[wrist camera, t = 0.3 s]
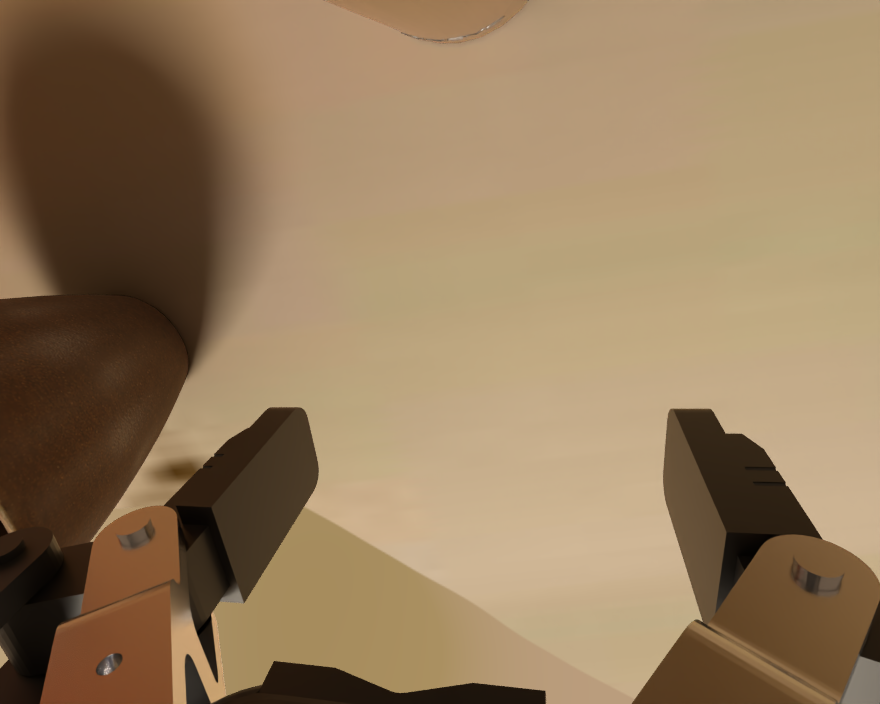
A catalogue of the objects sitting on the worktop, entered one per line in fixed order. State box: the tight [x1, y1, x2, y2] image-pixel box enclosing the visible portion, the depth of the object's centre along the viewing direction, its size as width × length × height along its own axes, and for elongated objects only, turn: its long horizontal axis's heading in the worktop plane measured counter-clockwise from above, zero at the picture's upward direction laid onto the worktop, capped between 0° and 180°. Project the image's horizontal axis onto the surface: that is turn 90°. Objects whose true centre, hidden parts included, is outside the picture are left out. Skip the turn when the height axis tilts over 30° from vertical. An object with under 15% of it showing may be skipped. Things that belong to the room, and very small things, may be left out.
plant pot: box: [0, 295, 188, 548], centre depth 28 cm, size 15×15×16 cm
